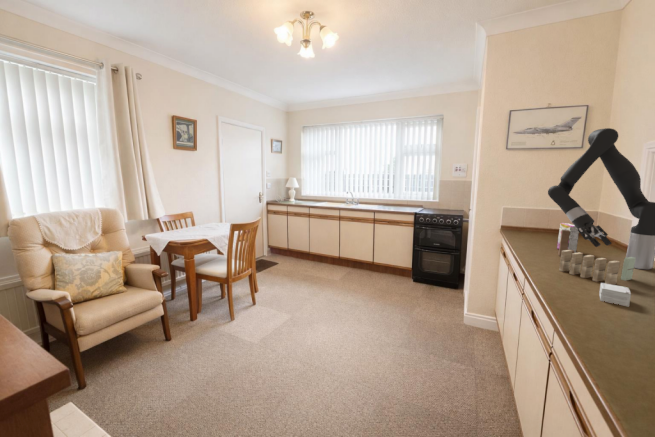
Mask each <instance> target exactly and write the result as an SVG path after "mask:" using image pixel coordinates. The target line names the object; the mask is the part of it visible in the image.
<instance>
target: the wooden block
mask: <svg viewBox="0 0 655 437" xmlns="http://www.w3.org/2000/svg"><path fill="white" fill-rule="evenodd" d="M569 234H570V231H569V230H562V231H561V239H560V246H559V249H558V256H559V257H561V253H562V251H564V250H569V249H568V241H569ZM571 251H572V253H574V252H575V251H574V250H571ZM571 259H572V255H571Z"/></svg>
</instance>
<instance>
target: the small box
mask: <svg viewBox="0 0 655 437" xmlns="http://www.w3.org/2000/svg"><path fill="white" fill-rule="evenodd" d="M598 294H599V301H600V302H604V301H605V303H609V304H613V303H614V304H615V305H618V304H619V306H624V307H629V308H630V303H631V297H632V293H631V290H630V287H626V286H622V285H617V284H614V285H611V284H606V283H605V282H600V285H599V292H598Z"/></svg>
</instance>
